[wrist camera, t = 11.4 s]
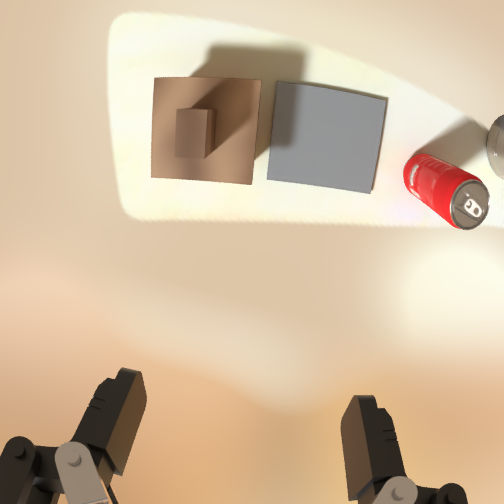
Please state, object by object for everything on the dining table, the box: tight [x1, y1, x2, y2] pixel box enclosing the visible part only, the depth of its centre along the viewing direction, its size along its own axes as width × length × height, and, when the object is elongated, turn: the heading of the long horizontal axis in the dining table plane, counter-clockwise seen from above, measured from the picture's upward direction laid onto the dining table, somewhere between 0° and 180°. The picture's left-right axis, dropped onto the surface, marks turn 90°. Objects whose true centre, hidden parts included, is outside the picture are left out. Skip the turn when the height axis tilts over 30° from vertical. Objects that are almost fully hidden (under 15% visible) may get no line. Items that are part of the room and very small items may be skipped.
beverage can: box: [403, 154, 490, 230], centre depth 28 cm, size 5×5×12 cm
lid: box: [151, 77, 262, 185], centre depth 26 cm, size 10×10×5 cm
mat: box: [267, 81, 386, 194], centre depth 33 cm, size 12×11×1 cm
